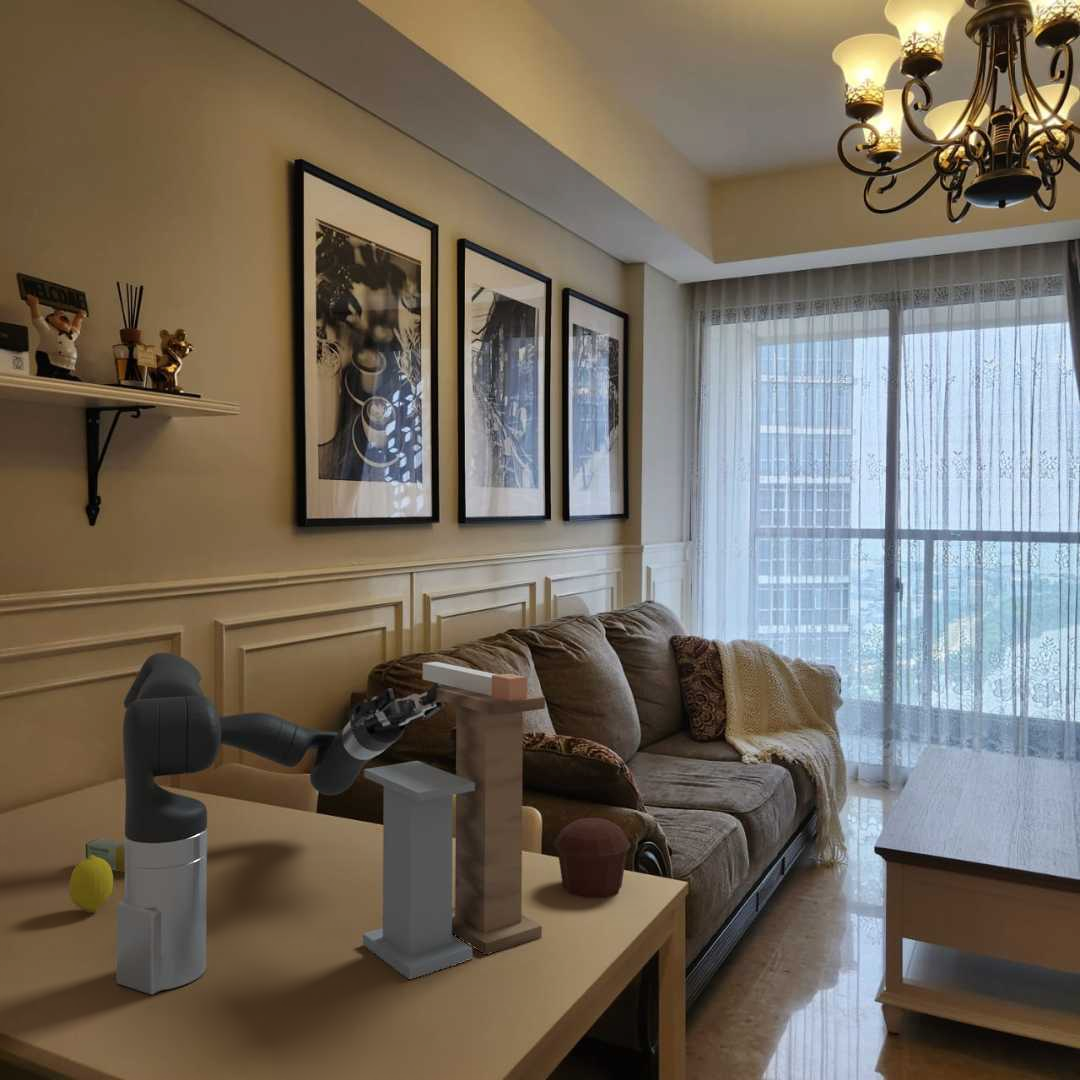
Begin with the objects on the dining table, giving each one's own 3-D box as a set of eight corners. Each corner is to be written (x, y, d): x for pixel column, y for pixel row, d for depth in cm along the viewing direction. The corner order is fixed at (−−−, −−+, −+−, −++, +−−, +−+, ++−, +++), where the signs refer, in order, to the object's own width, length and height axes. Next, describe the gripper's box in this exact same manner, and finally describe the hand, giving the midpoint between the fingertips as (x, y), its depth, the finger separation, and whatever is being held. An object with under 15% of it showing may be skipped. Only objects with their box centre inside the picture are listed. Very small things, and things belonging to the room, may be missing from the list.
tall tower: (432, 921, 128) (433, 689, 127) (485, 905, 133) (487, 683, 133) (490, 958, 116) (491, 703, 116) (546, 939, 122) (548, 696, 122)
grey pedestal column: (359, 942, 121) (360, 769, 121) (419, 925, 126) (420, 760, 126) (413, 983, 110) (415, 793, 110) (476, 962, 115) (478, 781, 115)
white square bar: (421, 679, 136) (421, 660, 136) (437, 677, 138) (437, 659, 138) (509, 700, 119) (509, 679, 119) (526, 698, 120) (527, 677, 120)
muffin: (611, 869, 148) (611, 807, 148) (643, 894, 138) (644, 827, 138) (542, 879, 144) (542, 814, 144) (570, 906, 133) (570, 836, 133)
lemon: (120, 905, 132) (121, 849, 132) (98, 921, 127) (99, 863, 127) (84, 903, 133) (84, 848, 133) (60, 919, 127) (60, 861, 127)
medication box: (84, 868, 148) (84, 843, 148) (97, 862, 150) (97, 837, 150) (145, 877, 144) (145, 852, 144) (157, 871, 146) (157, 846, 146)
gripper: (327, 712, 148) (368, 672, 137) (405, 703, 157) (450, 664, 146) (337, 758, 145) (380, 720, 134) (416, 746, 154) (463, 709, 143)
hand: (417, 691), depth 140 cm, fingers open, 8 cm apart
